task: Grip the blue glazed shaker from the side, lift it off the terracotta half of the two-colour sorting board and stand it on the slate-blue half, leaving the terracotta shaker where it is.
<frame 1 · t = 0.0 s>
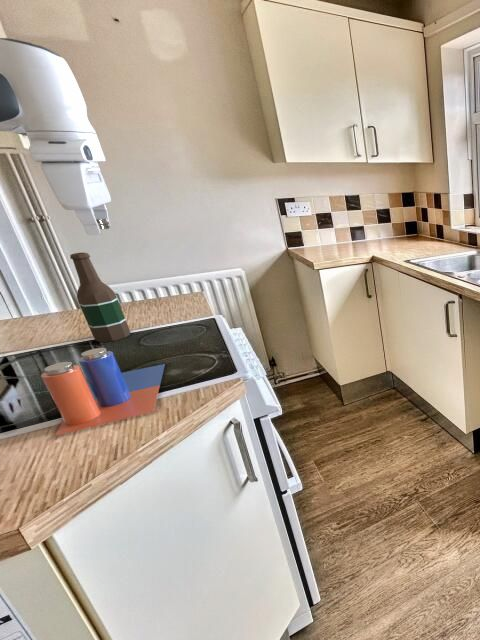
hand: (100, 231, 80), 33 cm above the worktop, tool pointing down, fingers open, 8 cm apart
beer bottle: (114, 338, 120), on the worktop
sorting board: (118, 396, 89), on the worktop
blue shaker: (115, 400, 86), resting on sorting board
terracotta shaker: (83, 417, 80), resting on sorting board
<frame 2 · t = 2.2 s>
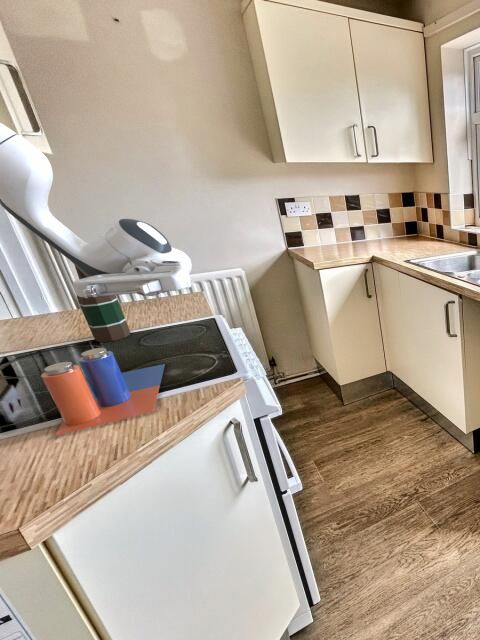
hand: (113, 292, 89), 20 cm above the worktop, tool horizontal, fingers open, 8 cm apart
nothing on the worktop moved.
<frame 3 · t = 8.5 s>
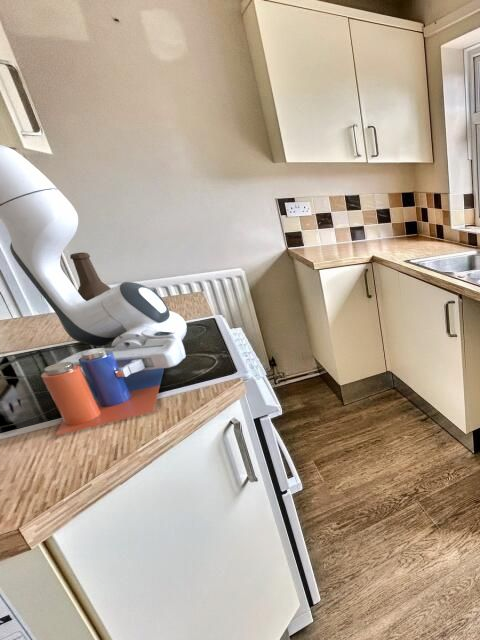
hand: (101, 376, 83), 7 cm above the worktop, tool horizontal, fingers closed on blue shaker, 5 cm apart
blue shaker: (115, 400, 86), point 1 cm above the worktop, touching gripper, sorting board
everything else where it was.
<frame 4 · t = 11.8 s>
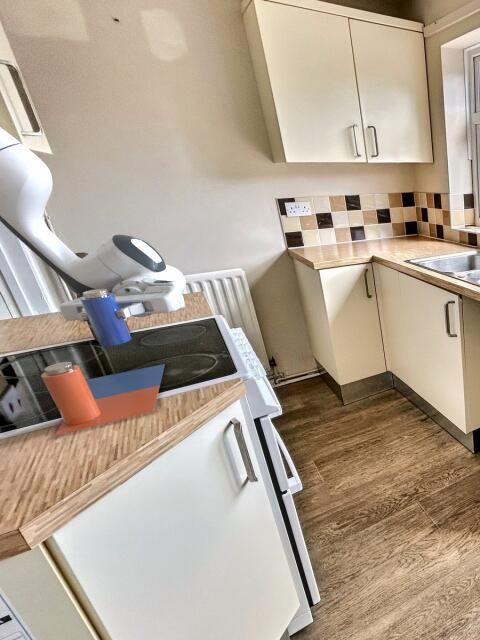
hand: (102, 316, 85), 17 cm above the worktop, tool horizontal, fingers closed on blue shaker, 5 cm apart
blue shaker: (116, 341, 88), point 11 cm above the worktop, touching gripper
everything else where it was.
when the fingers open (6 cm above the worktop, at t = 15.3 s): blue shaker stays where it is, resting on sorting board.
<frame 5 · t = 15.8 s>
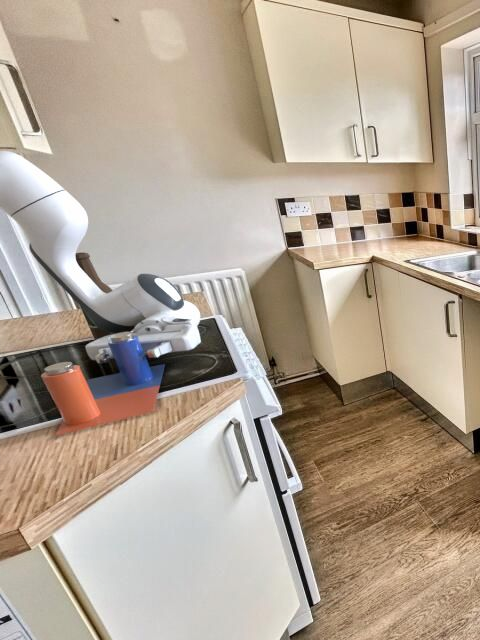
hand: (126, 357, 91), 7 cm above the worktop, tool horizontal, fingers open, 8 cm apart
blue shaker: (139, 380, 94), resting on sorting board
everything else where it was.
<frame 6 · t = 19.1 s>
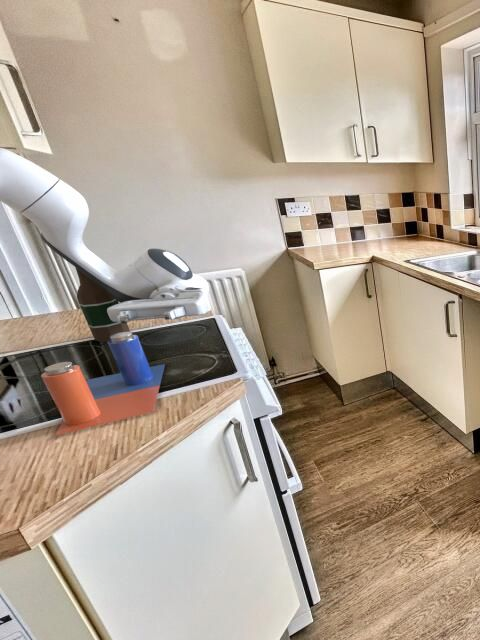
hand: (144, 318, 100), 11 cm above the worktop, tool horizontal, fingers open, 8 cm apart
nothing on the worktop moved.
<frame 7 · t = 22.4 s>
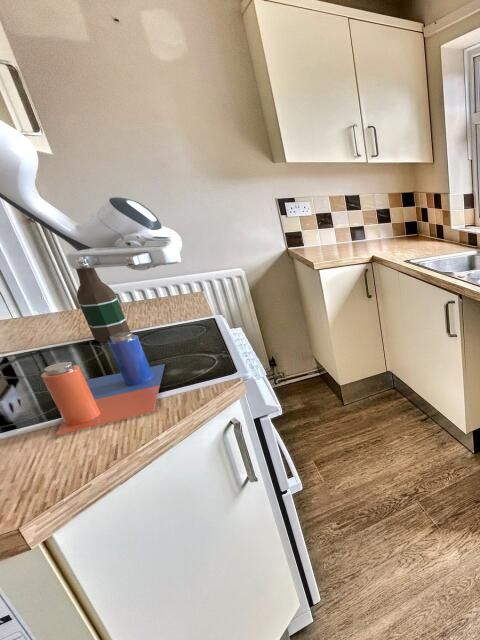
hand: (105, 263, 93), 25 cm above the worktop, tool horizontal, fingers open, 8 cm apart
nothing on the worktop moved.
at the end: blue shaker inside the target area on the sorting board (3.2 cm from its centre), point 0.5 cm above the sorting board's base; blue shaker tilted 0°; terracotta shaker inside the target area on the sorting board (4.2 cm from its centre), point 0.5 cm above the sorting board's base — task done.
